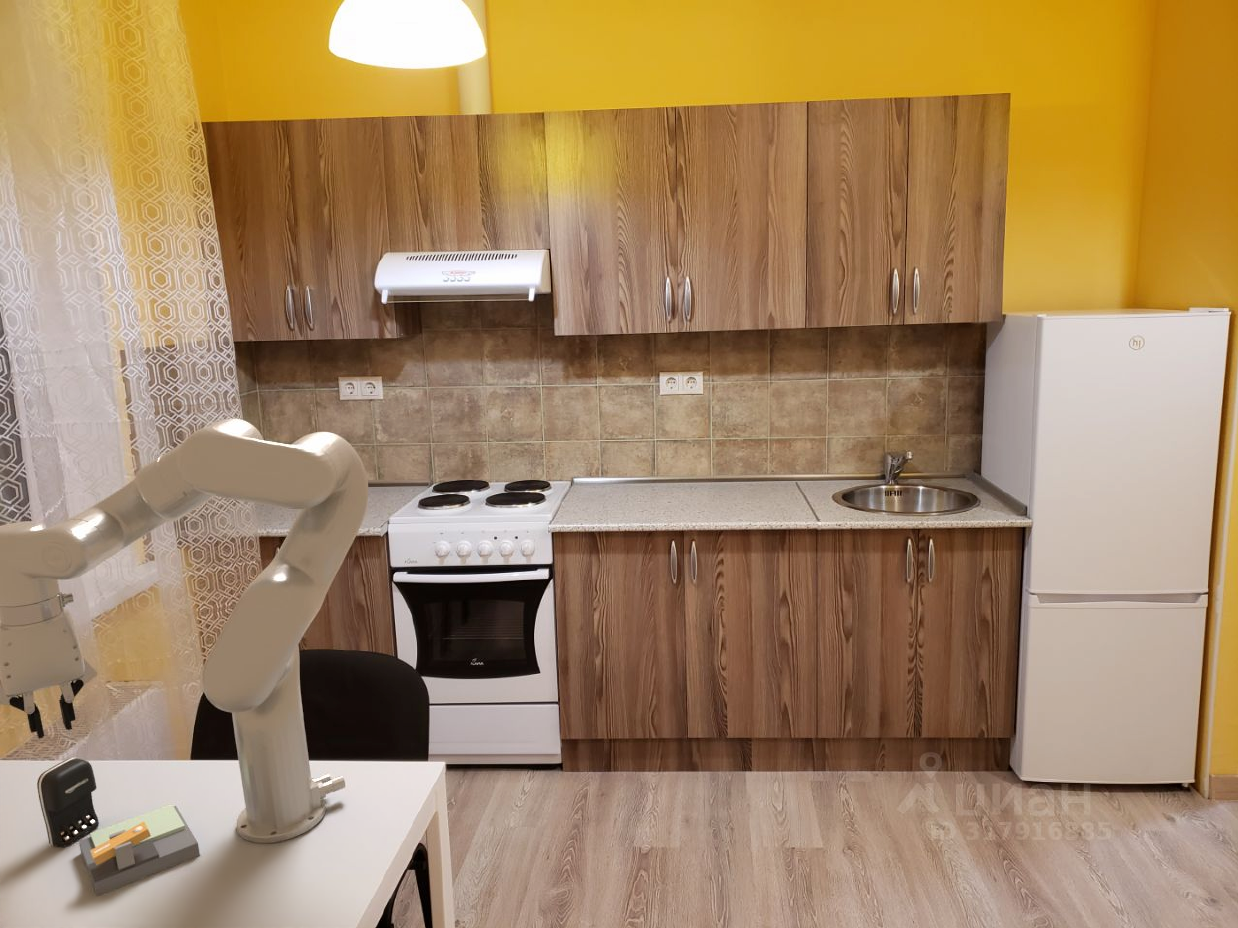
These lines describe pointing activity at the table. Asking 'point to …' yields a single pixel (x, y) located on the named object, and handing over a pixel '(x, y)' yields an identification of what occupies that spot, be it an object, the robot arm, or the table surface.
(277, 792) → the robot arm
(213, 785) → the table surface
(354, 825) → the table surface
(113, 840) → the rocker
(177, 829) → the grey holder stand
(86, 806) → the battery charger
